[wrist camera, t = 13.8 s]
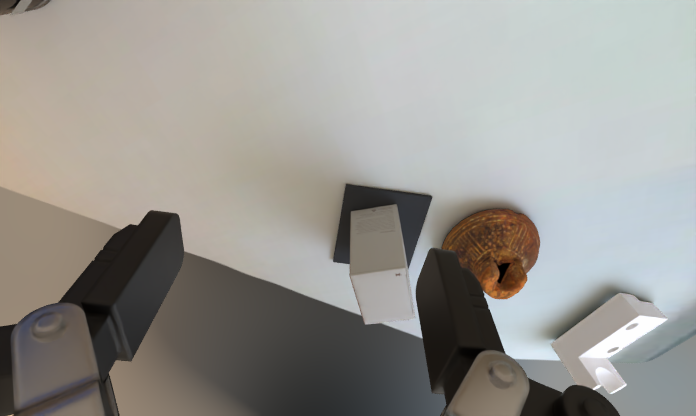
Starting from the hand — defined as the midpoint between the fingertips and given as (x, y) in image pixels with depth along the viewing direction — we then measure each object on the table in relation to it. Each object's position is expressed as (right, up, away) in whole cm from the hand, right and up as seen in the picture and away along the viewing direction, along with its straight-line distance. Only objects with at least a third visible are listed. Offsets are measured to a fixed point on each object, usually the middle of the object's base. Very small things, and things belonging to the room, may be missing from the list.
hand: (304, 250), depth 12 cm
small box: (+5, -2, +34) cm, 34 cm away
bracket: (+39, -16, +43) cm, 61 cm away
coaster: (+5, -1, +34) cm, 35 cm away
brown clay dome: (+19, -3, +35) cm, 40 cm away
